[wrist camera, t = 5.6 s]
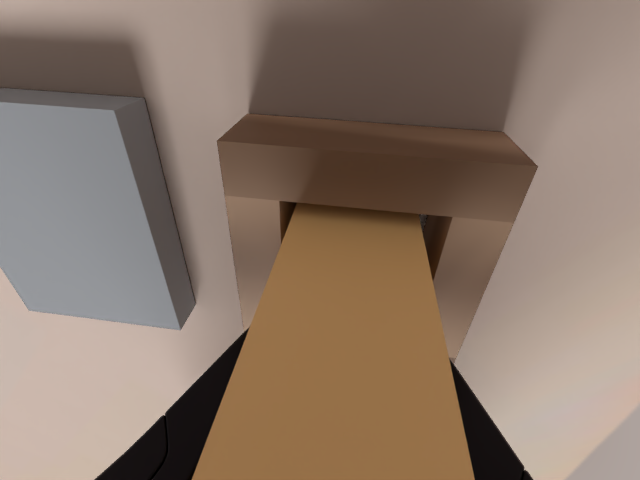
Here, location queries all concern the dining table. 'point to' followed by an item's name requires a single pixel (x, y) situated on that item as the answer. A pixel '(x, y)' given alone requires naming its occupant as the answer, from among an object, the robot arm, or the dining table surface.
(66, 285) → the grey rubber mat
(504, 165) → the brown square frame
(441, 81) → the dining table surface
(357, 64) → the dining table surface
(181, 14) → the dining table surface
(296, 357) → the amber plug
